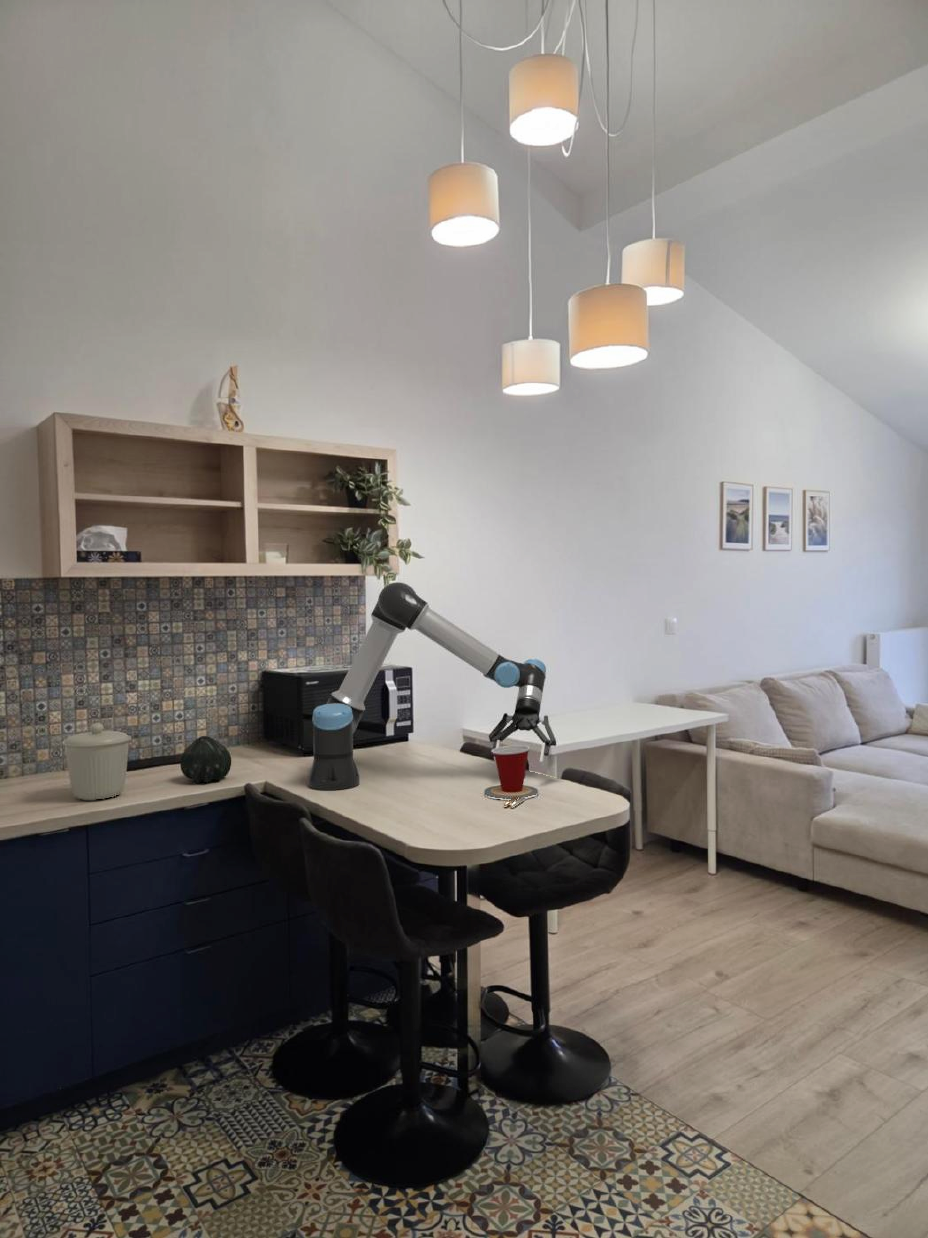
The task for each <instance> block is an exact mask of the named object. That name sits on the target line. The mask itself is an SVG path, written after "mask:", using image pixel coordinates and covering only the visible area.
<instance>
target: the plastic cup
mask: <svg viewBox="0 0 928 1238" xmlns="http://www.w3.org/2000/svg"><path fill="white" fill-rule="evenodd" d="M530 749H531V747H530V746H529V745H524V744H512V745H511V744H510V745H505V746H504V745H503V746H501V747H498V748H495V749H493V748H492V749H491V753H492V754H493V758H494V757H495V760H496V763H495V764H496V769H497V775H498V778H499V783H500V784H499V785H501V788H502V791H504V792H520V791H522V788H523V785H524V782H525V776H526V770H527V762H528V755H529V752H530Z"/></svg>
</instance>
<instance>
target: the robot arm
mask: <svg viewBox="0 0 928 1238" xmlns="http://www.w3.org/2000/svg"><path fill="white" fill-rule="evenodd" d="M370 617H371V620H372V623H371V624H370V627H369V628H368V630H367V633H366V634H365V637H364V639H363V641H362V642H361V645H360V646H359V649H358V650H357V653H356V654H355V657H354V659H353V661H352V662H351V665H350V667H349V670H348V671H347V673H346V675H345V677H344V678H343V681H342V683H341V685H340V687H339V689H338V690H336V691H333V692H332V693H331V694H330V697H329V698H328V700H327V702H326V703H325V704H322V705H318V706H316V707H315V708H314V709H313V712H312V717H311V720H312V721H311V722H312V734H313V737H312V740H313V741H312V742H313V744H312V745H313V760H312V763H311V769H310V772H309V776H308V779H307V785H308V787H309V788H310V789H313V790H320V791H337V790H346V789H351V788H354V787H357V786H358V785H360V774H359V771H358V768H357V765H356V763H355V760H354V738H353V737H354V735H353V734H354V733H355V732H356V730H357V728H358V725H359V722H360V721H361V718H362V717H363V715H364V713H365V711H366V707H365V703H364V702H365V700H366V698H367V695H368V693H369V692H370V689H371V688H372V686H373V684H374V682H375V680H376V677H377V675H378V674H379V672H380V670H381V668H382V666H383V664H384V662H385V660H386V658H387V656H388V653H389V652H390V650H391V648H392V646H393V644H394V642H395V640H396V638H397V636H398V635H399V634H401V633H404V632H405V631H406V629H408V630H409V631H412V630H416V631H418V632H419V633H420V634H422V635H424V637H426V638H428V639H429V640H431V641H433V642H434V643H435V644H437V645H438V646H440V647H442V648H443V649H445V650H446V651H448V652H449V653H451V654H453V655H454V656H456V657H457V658H459V659H460V660H462V661H463V662H465V663H466V664H468V665H469V666H471V667H472V668H474V669H475V670H477V671H479V672H480V673H481V674H483V677H484V678H486V679H489V680H492V681H493V682H495V683H496V684H497V685H498V686H500V687H501V688H503V689H505V688H506V689H507V688H508V689H509V688H513V687H517V688H518V692H517V698H516V702H515V703H516V704H515V707H514V708H515V709H514V713H513V715H508V713H506V712H505V713H504V714H503V715H502V718H501V720H500V721H499V722H498V723H497V725H496V726H495V727H494V728H493V730H492V731H491V732H490V733H489V734H488V739H489V742H490V743H493V745H492V750H493V749H495V748H498V747H502V743H501V742H503V741H504V740H505V739H507V738H508V737H509V736H511V734H513V733H515V732H518V730H519V731H526V732H530V731H531V730H532V731H533V732H534V734H536V736H537V737H538V738H539V739H540V741H541V742H542V745H541V751H540V757H539V764H540V767H542V768H544V765H545V764H544V763H545V757H548V756H549V755H550V750H551V748H550V747H552V746H553V747H556V746H557V739H556V737H555V735H554V732H553V730H552V727H551V726H550V721H549V716H548V715H546V714H545V715H544V716H542V717H540V712H541V705H542V700H543V692H544V687H545V681H546V677H547V676H546V674H547V667H546V664H545V663H544V662H543V661H541V660H539V659H537V658H534V659H531V658H529V659H527V660H525V661H524V663H522V662H517V661H514V660H511V659H508V658H505V657H504V656H503V655H501V654H499V653H498V652H496V651H494V650H493V649H492V648H490V647H489V646H487V645H486V644H484V643H482V642H481V641H480V640H478V639H476V638H475V637H474V636H472V635H471V634H469V633H468V632H466V631H464V629H462V628H460V627H459V626H457V625H455V624H454V623H453V622H451V621H449V620H448V619H446V618H445V617H443V616H442V615H440V614H439V613H438V612H436V611H434V610H433V609H431V608H430V606H429V603H428V602H427V601H426V600H424V599H423V598H421V597H420V596H419V595H417V593H416V590H414V588H413V587H412V586H410V585H409V584H407V583H404V582H401V581H399V582H397V581H396V582H392V583H389V584H387V585H386V586H384V587H383V588H382V589H381V591H380V592H379V595H378V600H377V601H376V604H375V606H374V608H373V610H372V612H371V614H370ZM509 723H510V724H509ZM539 723H541V724H542V725H543V726H544V728H545V731H546V734H547V735H548V737H547V736H546V735H545V733H544V732H543V731H542V730H541V729H540V727H539V726H538V724H539ZM508 724H509V725H508ZM505 727H506V728H505ZM493 760H494V763H495V764H496V760H495V757H494V756H493Z"/></svg>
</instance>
